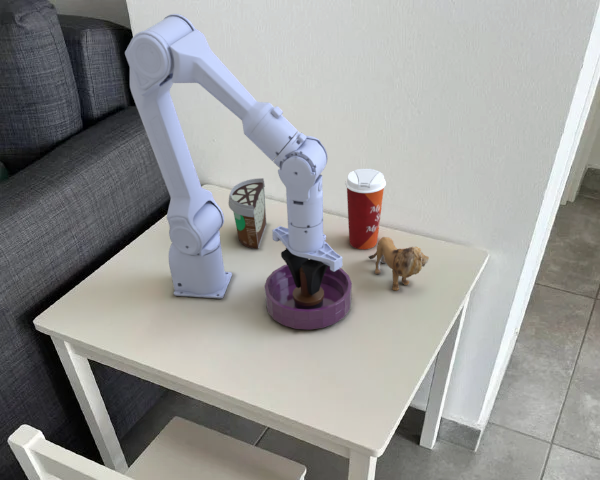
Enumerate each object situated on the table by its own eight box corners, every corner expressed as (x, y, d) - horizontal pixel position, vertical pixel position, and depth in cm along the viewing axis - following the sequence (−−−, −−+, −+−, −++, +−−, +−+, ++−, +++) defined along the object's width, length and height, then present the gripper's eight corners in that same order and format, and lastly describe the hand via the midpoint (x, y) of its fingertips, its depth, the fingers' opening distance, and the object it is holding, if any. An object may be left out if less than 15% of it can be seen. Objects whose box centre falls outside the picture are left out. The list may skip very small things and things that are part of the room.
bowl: (259, 328, 109) (257, 308, 105) (275, 278, 119) (273, 258, 116) (346, 335, 107) (346, 314, 103) (354, 283, 117) (355, 262, 114)
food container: (239, 220, 135) (234, 176, 127) (267, 221, 134) (264, 177, 127) (227, 251, 126) (220, 206, 119) (257, 253, 125) (252, 207, 118)
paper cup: (380, 253, 123) (384, 187, 113) (342, 251, 125) (342, 185, 115) (383, 232, 129) (388, 167, 119) (346, 230, 130) (347, 165, 120)
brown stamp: (290, 311, 111) (288, 277, 105) (295, 292, 114) (293, 259, 109) (322, 313, 110) (321, 279, 105) (326, 294, 114) (325, 260, 109)
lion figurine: (428, 291, 114) (434, 248, 108) (406, 301, 112) (410, 258, 106) (378, 255, 123) (381, 213, 117) (357, 264, 121) (358, 222, 115)
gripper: (355, 224, 98) (353, 295, 108) (291, 195, 106) (295, 263, 115) (325, 242, 95) (325, 313, 105) (261, 211, 102) (267, 280, 112)
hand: (307, 288), depth 110 cm, fingers closed on brown stamp, 2 cm apart
